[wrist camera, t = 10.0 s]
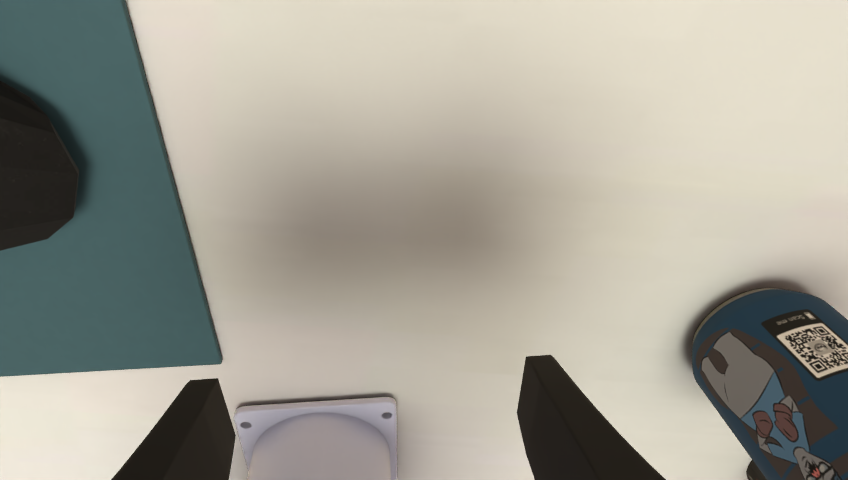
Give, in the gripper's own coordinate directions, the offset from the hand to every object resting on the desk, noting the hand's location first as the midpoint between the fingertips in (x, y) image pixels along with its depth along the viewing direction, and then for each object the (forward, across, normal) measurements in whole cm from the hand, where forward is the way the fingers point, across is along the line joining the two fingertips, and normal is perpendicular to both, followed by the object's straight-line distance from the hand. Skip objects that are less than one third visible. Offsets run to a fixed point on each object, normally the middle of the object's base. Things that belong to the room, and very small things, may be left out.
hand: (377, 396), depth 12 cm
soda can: (+9, -19, +8) cm, 22 cm away
